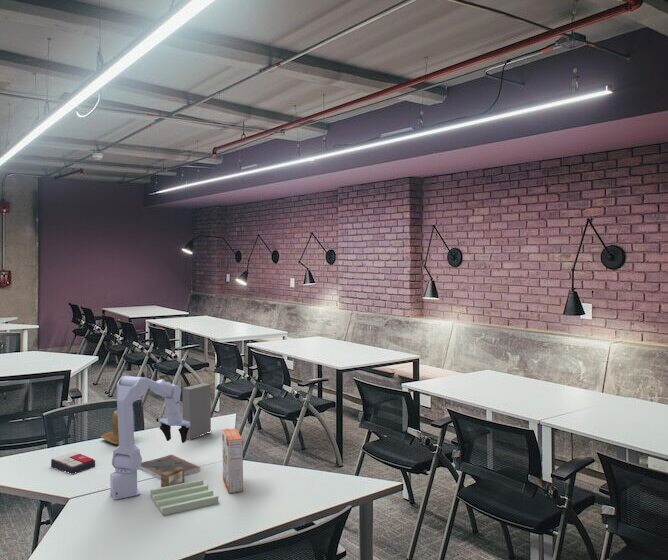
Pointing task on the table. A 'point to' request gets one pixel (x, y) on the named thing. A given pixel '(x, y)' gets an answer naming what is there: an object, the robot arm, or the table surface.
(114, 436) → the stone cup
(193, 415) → the upright grey panel
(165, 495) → the green slotted rack
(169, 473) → the frame
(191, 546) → the table surface
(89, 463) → the red and beige box
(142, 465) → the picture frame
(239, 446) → the cracker box
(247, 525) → the table surface
